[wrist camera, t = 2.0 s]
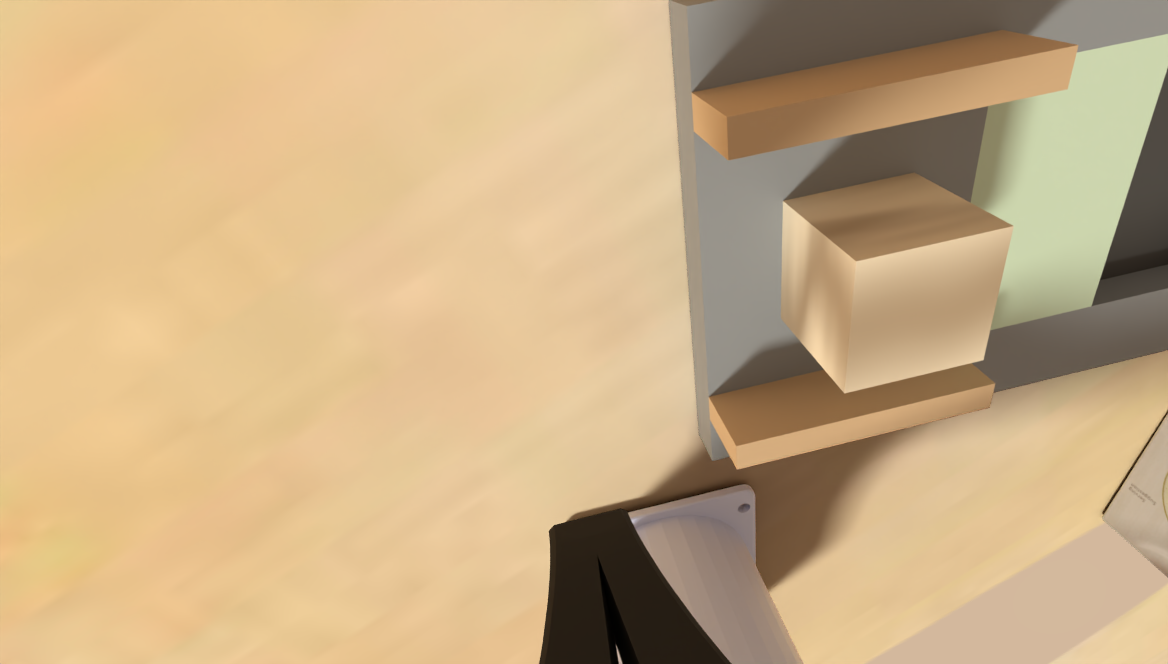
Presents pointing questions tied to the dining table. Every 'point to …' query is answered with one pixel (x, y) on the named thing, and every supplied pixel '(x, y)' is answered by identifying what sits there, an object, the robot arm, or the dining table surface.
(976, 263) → the birch block
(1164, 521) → the coffee box
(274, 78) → the dining table surface
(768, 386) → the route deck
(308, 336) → the dining table surface
